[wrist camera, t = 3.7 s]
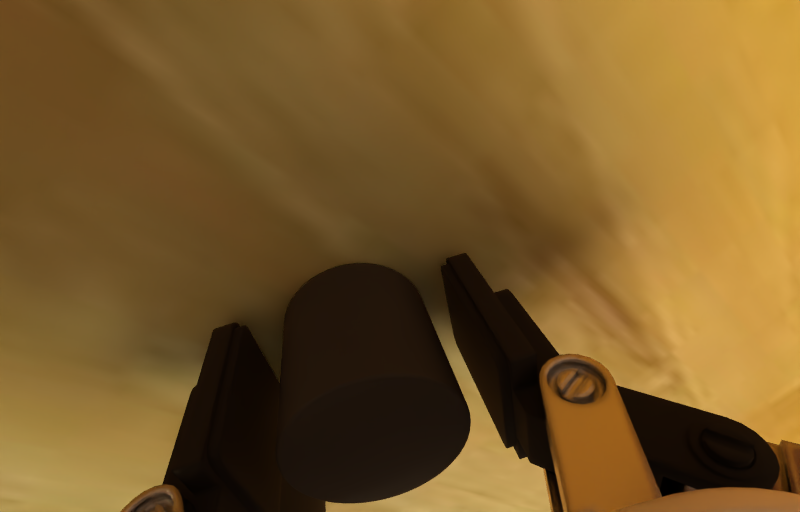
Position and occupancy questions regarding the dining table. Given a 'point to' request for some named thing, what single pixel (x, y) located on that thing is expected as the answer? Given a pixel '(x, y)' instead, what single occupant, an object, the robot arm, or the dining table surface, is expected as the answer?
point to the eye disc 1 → (298, 500)
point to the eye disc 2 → (364, 389)
